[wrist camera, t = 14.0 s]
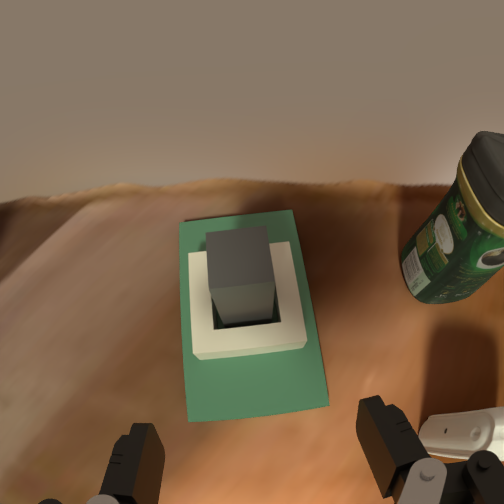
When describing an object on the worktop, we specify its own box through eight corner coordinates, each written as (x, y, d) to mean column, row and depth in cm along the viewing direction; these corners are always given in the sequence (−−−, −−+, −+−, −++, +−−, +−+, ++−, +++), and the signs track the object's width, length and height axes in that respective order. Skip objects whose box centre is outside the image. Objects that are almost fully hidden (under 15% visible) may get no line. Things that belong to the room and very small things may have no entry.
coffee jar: (457, 239, 33) (540, 129, 17) (476, 300, 29) (586, 205, 13) (390, 242, 33) (464, 109, 17) (407, 311, 29) (520, 200, 13)
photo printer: (411, 454, 22) (490, 465, 12) (421, 411, 24) (503, 399, 13) (488, 456, 21) (570, 454, 10) (495, 418, 23) (578, 402, 12)
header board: (191, 421, 25) (179, 422, 21) (181, 228, 35) (173, 205, 31) (326, 405, 25) (337, 404, 22) (291, 215, 35) (294, 191, 31)
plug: (226, 330, 28) (208, 289, 19) (221, 281, 30) (204, 222, 21) (271, 325, 28) (275, 281, 19) (264, 276, 30) (264, 215, 22)
